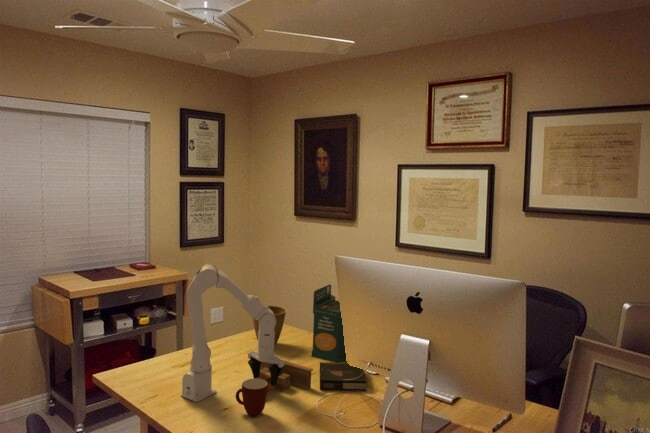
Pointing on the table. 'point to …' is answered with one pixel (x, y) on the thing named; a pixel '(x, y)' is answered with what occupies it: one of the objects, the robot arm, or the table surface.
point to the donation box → (327, 327)
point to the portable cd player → (341, 377)
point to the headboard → (290, 375)
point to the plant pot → (280, 317)
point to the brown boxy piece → (267, 378)
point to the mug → (253, 396)
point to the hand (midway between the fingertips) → (265, 382)
